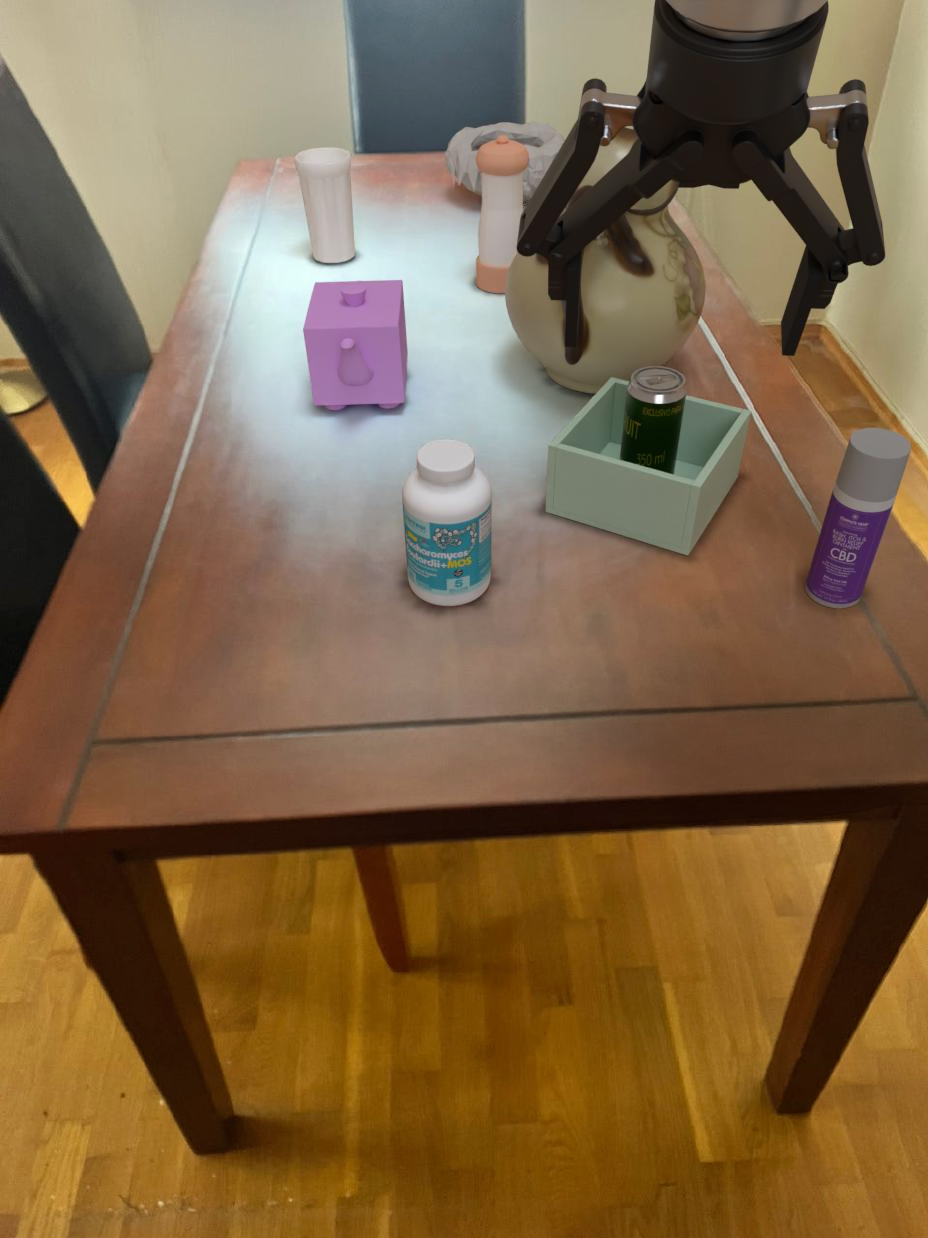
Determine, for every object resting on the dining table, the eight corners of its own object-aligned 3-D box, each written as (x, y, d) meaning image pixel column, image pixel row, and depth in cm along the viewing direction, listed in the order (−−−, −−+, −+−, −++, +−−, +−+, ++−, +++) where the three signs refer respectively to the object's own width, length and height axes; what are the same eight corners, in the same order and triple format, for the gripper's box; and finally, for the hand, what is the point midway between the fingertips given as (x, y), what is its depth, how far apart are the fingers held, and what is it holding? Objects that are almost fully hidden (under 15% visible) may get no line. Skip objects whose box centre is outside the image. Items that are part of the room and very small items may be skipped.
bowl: (593, 201, 155) (598, 136, 148) (491, 227, 147) (490, 160, 140) (522, 170, 168) (524, 108, 161) (425, 192, 160) (422, 129, 153)
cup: (340, 271, 135) (328, 167, 126) (296, 262, 139) (281, 159, 129) (371, 252, 141) (362, 151, 131) (328, 243, 144) (316, 143, 134)
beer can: (658, 470, 94) (673, 361, 86) (680, 499, 90) (698, 388, 82) (608, 478, 93) (619, 369, 85) (628, 508, 90) (641, 397, 81)
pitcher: (639, 318, 122) (662, 106, 105) (733, 402, 105) (779, 168, 88) (479, 346, 117) (476, 129, 100) (551, 440, 100) (562, 199, 83)
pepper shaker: (524, 295, 128) (527, 144, 115) (472, 292, 129) (469, 143, 116) (530, 274, 133) (534, 128, 120) (480, 271, 134) (479, 126, 121)
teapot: (328, 358, 115) (314, 257, 107) (409, 355, 115) (402, 255, 107) (310, 444, 101) (293, 335, 92) (403, 441, 101) (395, 332, 92)
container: (811, 608, 79) (857, 459, 69) (799, 573, 83) (841, 426, 73) (867, 609, 79) (921, 459, 69) (852, 573, 83) (902, 426, 72)
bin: (737, 476, 94) (751, 410, 89) (688, 556, 85) (700, 487, 80) (605, 441, 100) (611, 376, 95) (545, 511, 91) (548, 444, 85)
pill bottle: (396, 600, 81) (383, 470, 72) (425, 550, 86) (417, 423, 77) (476, 618, 79) (474, 486, 70) (502, 565, 85) (503, 437, 75)
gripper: (449, 46, 40) (479, 372, 59) (1061, 47, 37) (885, 390, 56) (469, -57, 43) (491, 284, 62) (1035, -64, 40) (876, 297, 60)
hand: (678, 335), depth 59 cm, fingers open, 13 cm apart
